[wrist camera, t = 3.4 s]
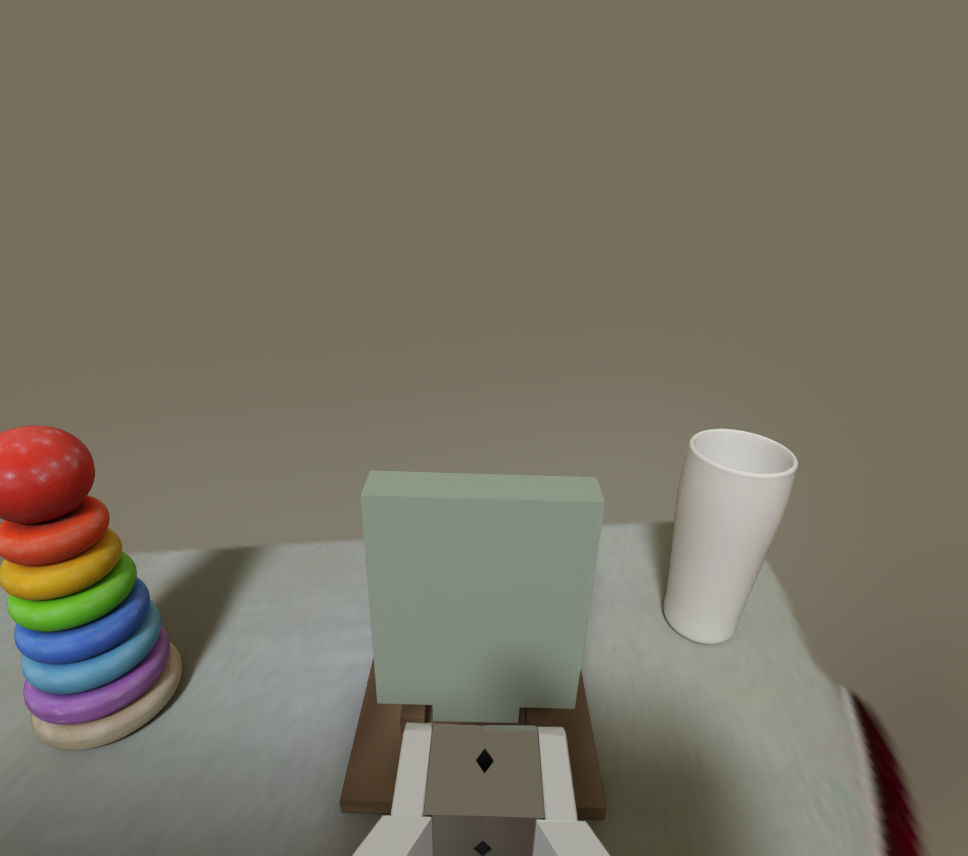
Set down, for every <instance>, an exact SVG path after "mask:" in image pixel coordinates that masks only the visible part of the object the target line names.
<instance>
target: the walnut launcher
mask: <svg viewBox="0 0 968 856" xmlns="http://www.w3.org/2000/svg"><path fill="white" fill-rule="evenodd" d="M406 723H433V724H453V725H475V726H485V725H525V726H536V727H563V728H564V730H565V732H566V737H567V745H568V752H569V760H570V767H571V774H572V782H573V789H574V797H575V804H576V812H577V818H579V819H604V816H605V811H606V805H605V799H604V794H603V788H602V783H601V777H600V772H599V766H598V761H597V755H596V750H595V744H594V739H593V733H592V728H591V722H590V717H589V711H588V706H587V700H586V695H585V689H584V684H583V678H582V673H581V669H580V676H579V683H578V690H577V697H576V704H575V709H564V708H527V707H520V708H519V720H518V723H493V722H456V721H433V705H417V704H381V703H377V693H376V680H375V668H374V658H373V662H372V666H371V670H370V675H369V679H368V683H367V687H366V692H365V696H364V700H363V704H362V709H361V713H360V717H359V721H358V726H357V730H356V734H355V738H354V743H353V747H352V751H351V755H350V760H349V764H348V768H347V772H346V777H345V781H344V785H343V789H342V794H341V798H340V806H341V812H352V813H390V814H391V810H392V804H393V797H394V791H395V784H396V778H397V771H398V765H399V758H400V752H401V746H402V739H403V733H404V729H405V726H406Z"/></svg>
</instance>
